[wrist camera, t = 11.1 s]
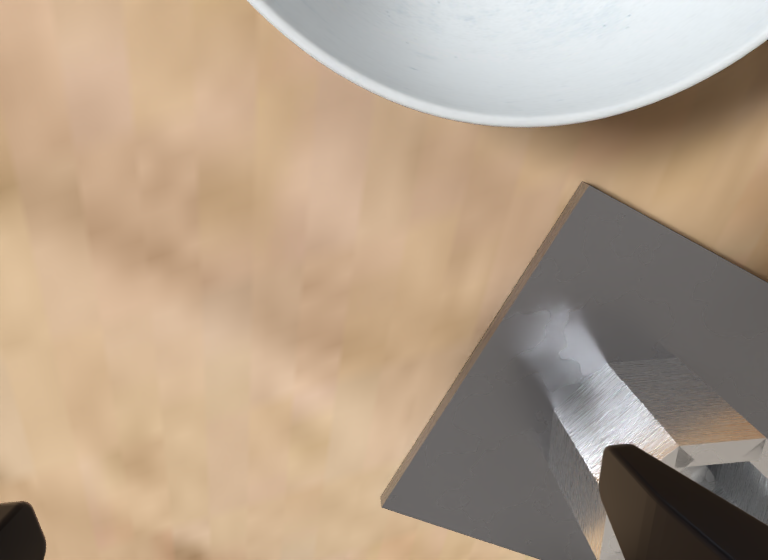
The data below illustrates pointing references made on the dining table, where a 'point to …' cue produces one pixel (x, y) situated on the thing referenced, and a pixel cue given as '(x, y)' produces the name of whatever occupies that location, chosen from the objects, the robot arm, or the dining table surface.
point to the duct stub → (578, 370)
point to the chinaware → (522, 52)
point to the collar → (653, 439)
